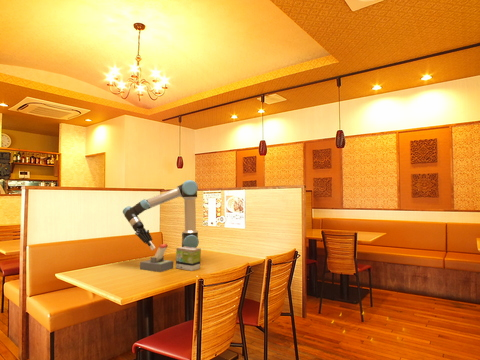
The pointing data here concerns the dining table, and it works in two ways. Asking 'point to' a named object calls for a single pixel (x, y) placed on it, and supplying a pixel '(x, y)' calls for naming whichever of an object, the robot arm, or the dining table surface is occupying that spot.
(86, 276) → the dining table surface
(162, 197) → the robot arm
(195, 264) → the tea box
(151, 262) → the breaker housing
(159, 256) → the breaker lever
